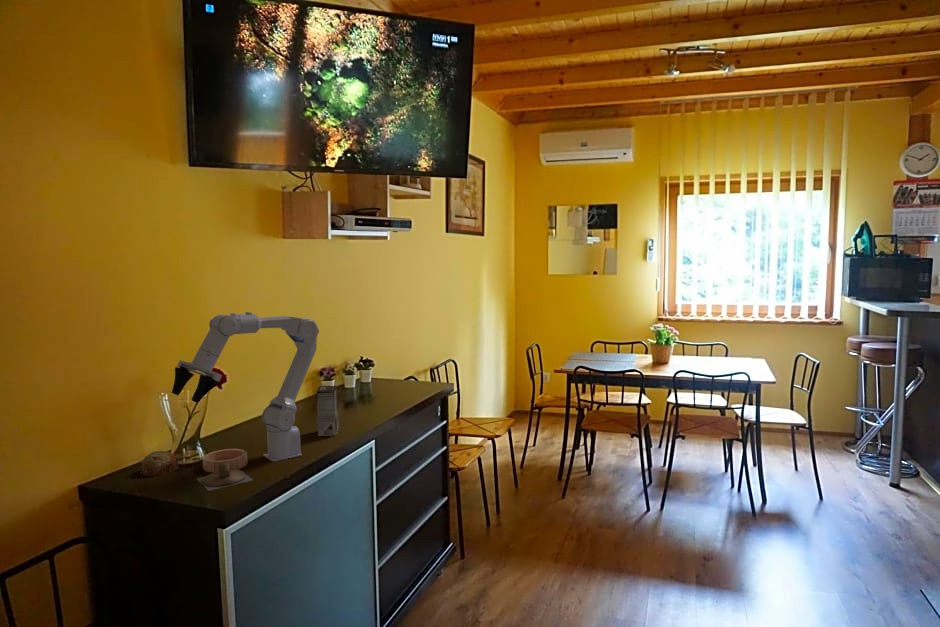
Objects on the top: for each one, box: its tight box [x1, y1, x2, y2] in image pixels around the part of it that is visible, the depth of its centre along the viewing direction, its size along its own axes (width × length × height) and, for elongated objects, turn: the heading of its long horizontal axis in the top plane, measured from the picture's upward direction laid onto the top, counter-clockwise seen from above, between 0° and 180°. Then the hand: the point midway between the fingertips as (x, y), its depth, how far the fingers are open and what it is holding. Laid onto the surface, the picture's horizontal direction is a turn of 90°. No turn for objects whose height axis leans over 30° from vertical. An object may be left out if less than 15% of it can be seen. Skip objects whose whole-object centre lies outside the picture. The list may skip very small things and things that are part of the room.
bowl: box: [202, 448, 248, 473], centre depth 187 cm, size 12×12×4 cm
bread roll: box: [140, 450, 180, 477], centre depth 184 cm, size 10×10×8 cm
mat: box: [195, 468, 254, 492], centre depth 175 cm, size 12×12×1 cm
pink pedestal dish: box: [203, 462, 246, 487], centre depth 175 cm, size 11×11×4 cm
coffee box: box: [316, 385, 339, 436], centre depth 220 cm, size 9×6×16 cm
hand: (184, 398), depth 173 cm, fingers open, 7 cm apart
